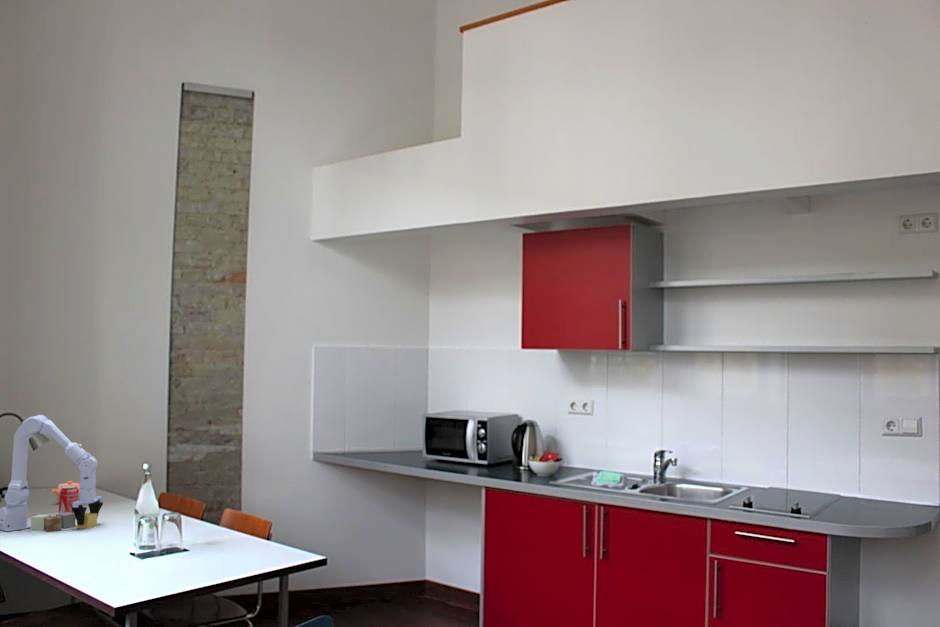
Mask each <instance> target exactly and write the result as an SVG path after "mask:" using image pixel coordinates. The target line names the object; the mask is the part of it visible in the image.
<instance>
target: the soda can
mask: <svg viewBox="0 0 940 627" xmlns="http://www.w3.org/2000/svg"><path fill="white" fill-rule="evenodd" d="M77 500H78V489H77V486H76V485H67V486H62V487H61V489H60V491H59V501H58V514H61V513H66V512H69V513H74V512H73V511H72V507H73V502H75V501H77ZM75 519H76V517H75Z"/></svg>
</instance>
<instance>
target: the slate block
mask: <svg viewBox="0 0 940 627" xmlns="http://www.w3.org/2000/svg"><path fill="white" fill-rule="evenodd" d="M55 516H60V517H61V518H62V524H61V529H69V528H72V527H76V518H75V514H74V513H69V512H66V513H61V514H59V513H56V514H55Z"/></svg>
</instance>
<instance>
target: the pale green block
mask: <svg viewBox="0 0 940 627" xmlns="http://www.w3.org/2000/svg"><path fill="white" fill-rule="evenodd" d="M51 516H52V514H37V515H33V516H31V519H30V521H31V522H30V526H31V528H30V530H31V531H45V517H51Z"/></svg>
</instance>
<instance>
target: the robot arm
mask: <svg viewBox="0 0 940 627" xmlns="http://www.w3.org/2000/svg"><path fill="white" fill-rule="evenodd" d="M38 433H39V435H40V434H41V435H47V436H50V437H51V439H53V440H54V441H55V442H57V444H59V445H60V446H61V447H62V448H64V454H65V455H66V456H67V457H68V458H69V459H70V460H71V461H73V463H74V464H76V465H77V468H78V470H79V472H80V474H79V476H80V477H79V483H80V499H79V500H77V501H75V502H73V507H72V511H73V512H74V514H75V517H76V518H75V521H76V523H77V524H78V525H83V524H84V516H85V513H87V512H86V511H87V509H88V508H89V513H97V518H98V517H99V513H100V510H101V508H102V507H103V504H104V503H103V502H102V501H103V496H101V495H99V496H98V495H97V496H96V487H97V486H96V485H97V484H96V483H97V476H96V472H97V470H96V469H97V467H98V466H99V465H98V464H99V463H98V458H96V456H93V455H91V453H90V452H87V451H86V450H85V449H84V448H83V445H82V444H81V443H78V442H72V441H71V440H70V439H69V438H68V437H67V436H66V435H65V434H64V432H63V431H62V430H61V429H59V428H58V427H57V425H56V424H55V423H54V422H53V421H52V420H51V419H49V418H48V417H47V416H46V415H44V414H37V415H34V416H30V417H27V418H26V419H24V420H23V421H22V422H21V424H20V426H19V427H18V429H17V430H16V432H15V433H14V435H13V445H12V446H13V448H12V466H11V475H10V476H11V477H10V478H11V479H10V482H9V484H8V486H7V491H6V492H5V495H4V501H5V503H6V505H5V506H3V507H0V530H1V531H3V532H13V531H19V530H26V529H31V525H28V500H29V498H30V496H31V492H30V491H31V490H30V489H29V483H28V480H27V470H28V469H27V468H28V457H29V440H30V439H31V438H32V437H33V436H34V435H36V434H38ZM85 506H88V508H87V507H85Z"/></svg>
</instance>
